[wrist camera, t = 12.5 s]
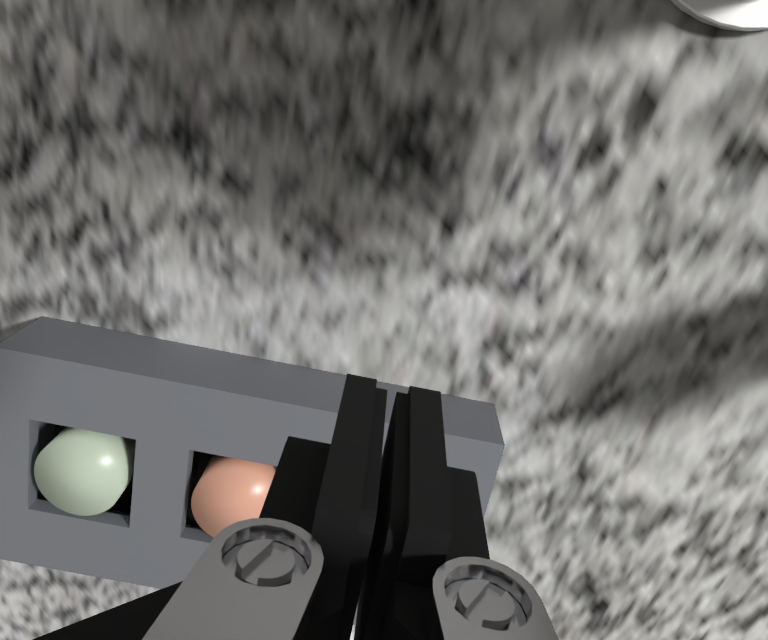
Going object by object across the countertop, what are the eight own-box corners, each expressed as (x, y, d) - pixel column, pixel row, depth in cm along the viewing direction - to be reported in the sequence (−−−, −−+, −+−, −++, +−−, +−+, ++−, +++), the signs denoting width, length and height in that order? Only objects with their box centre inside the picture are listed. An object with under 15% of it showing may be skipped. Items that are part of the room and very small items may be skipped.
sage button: (147, 419, 40) (124, 448, 37) (142, 488, 42) (119, 522, 39) (65, 403, 40) (34, 431, 37) (63, 473, 42) (33, 506, 39)
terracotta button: (294, 447, 41) (284, 479, 37) (283, 515, 42) (271, 551, 39) (213, 431, 41) (195, 462, 37) (204, 500, 42) (187, 535, 39)
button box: (494, 404, 41) (504, 445, 36) (444, 584, 46) (447, 641, 41) (42, 316, 40) (-7, 346, 36) (37, 508, 45) (-7, 557, 40)
